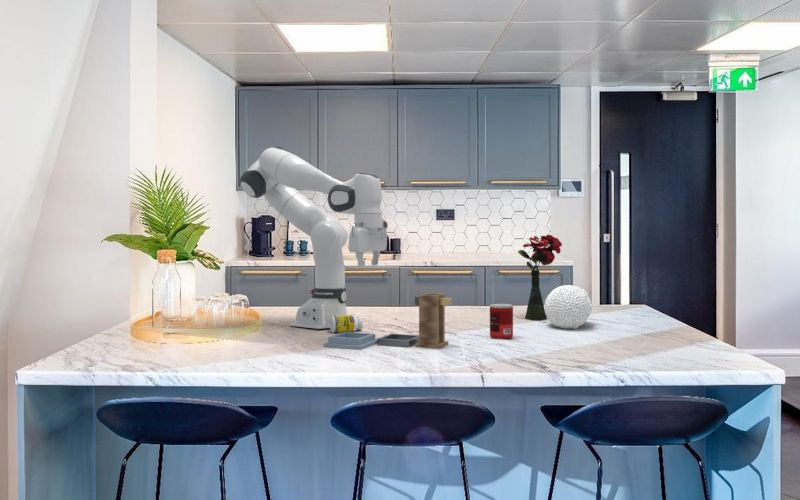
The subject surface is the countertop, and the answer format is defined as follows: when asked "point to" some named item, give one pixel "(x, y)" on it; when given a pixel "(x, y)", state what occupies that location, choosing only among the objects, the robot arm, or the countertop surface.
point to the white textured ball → (568, 307)
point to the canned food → (501, 321)
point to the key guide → (431, 321)
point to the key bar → (441, 301)
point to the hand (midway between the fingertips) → (368, 265)
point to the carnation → (545, 257)
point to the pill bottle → (345, 323)
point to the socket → (398, 340)
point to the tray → (351, 340)
